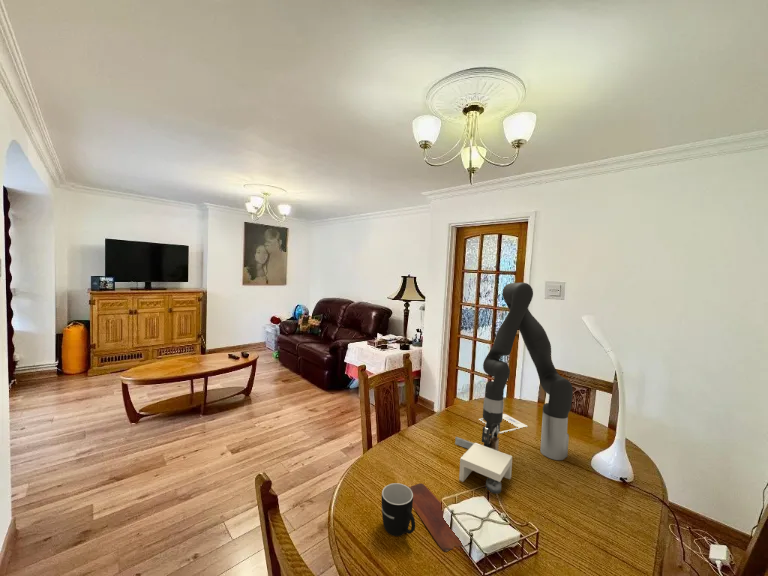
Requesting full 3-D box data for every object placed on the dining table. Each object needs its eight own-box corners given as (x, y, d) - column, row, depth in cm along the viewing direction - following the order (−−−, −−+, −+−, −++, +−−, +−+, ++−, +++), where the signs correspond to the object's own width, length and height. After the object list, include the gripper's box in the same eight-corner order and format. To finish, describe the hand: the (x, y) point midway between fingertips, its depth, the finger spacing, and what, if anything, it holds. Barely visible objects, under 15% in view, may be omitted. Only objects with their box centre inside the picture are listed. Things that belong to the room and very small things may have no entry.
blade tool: (497, 457, 128) (498, 437, 127) (494, 461, 125) (495, 441, 124) (457, 441, 138) (458, 424, 138) (453, 445, 135) (454, 427, 135)
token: (495, 483, 112) (495, 477, 111) (504, 493, 107) (504, 486, 107) (482, 485, 110) (483, 478, 110) (490, 495, 106) (491, 488, 105)
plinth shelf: (511, 477, 115) (512, 456, 115) (498, 498, 104) (500, 474, 104) (474, 462, 124) (475, 442, 123) (459, 480, 112) (460, 458, 112)
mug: (374, 523, 91) (375, 490, 91) (398, 511, 97) (399, 479, 96) (400, 554, 82) (401, 517, 81) (425, 538, 87) (427, 503, 86)
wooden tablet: (474, 544, 86) (474, 539, 86) (443, 556, 82) (443, 550, 82) (425, 483, 111) (425, 479, 111) (399, 490, 107) (399, 485, 107)
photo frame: (527, 425, 155) (500, 432, 147) (527, 427, 155) (500, 434, 147) (504, 413, 168) (478, 418, 161) (504, 415, 168) (478, 420, 161)
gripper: (490, 400, 135) (487, 437, 136) (477, 410, 124) (474, 451, 124) (508, 406, 130) (505, 444, 131) (496, 417, 119) (493, 458, 120)
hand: (490, 447), depth 128 cm, fingers open, 8 cm apart
